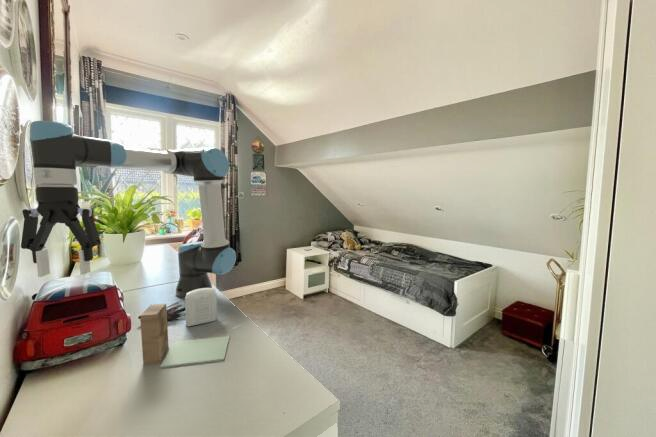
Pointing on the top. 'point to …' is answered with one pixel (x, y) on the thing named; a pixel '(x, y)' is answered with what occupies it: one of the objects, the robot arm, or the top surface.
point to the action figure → (174, 312)
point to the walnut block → (154, 333)
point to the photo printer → (200, 306)
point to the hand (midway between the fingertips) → (65, 274)
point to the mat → (196, 351)
